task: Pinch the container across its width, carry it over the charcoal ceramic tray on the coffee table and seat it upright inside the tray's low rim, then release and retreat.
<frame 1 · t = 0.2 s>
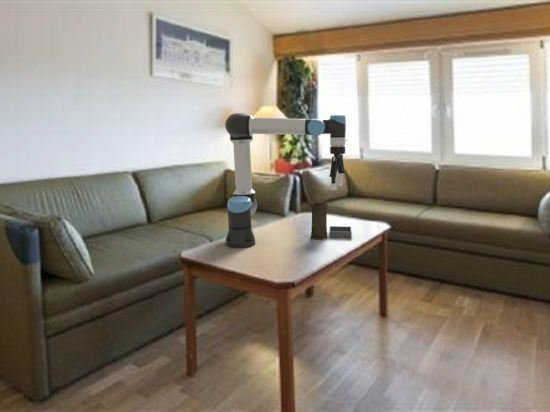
hand: (337, 188, 235), 27 cm above the table, fingers open, 13 cm apart
tray: (340, 235, 247), on the table
container: (319, 238, 243), on the table
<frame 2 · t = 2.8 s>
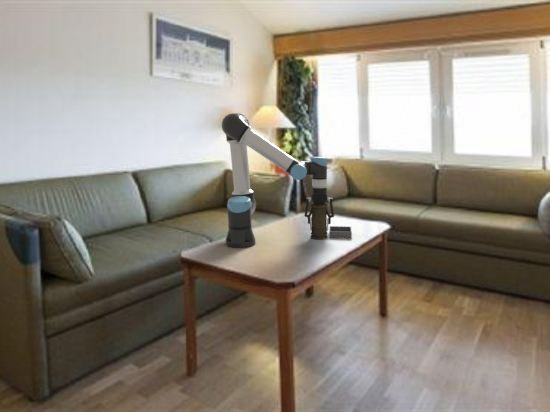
hand: (319, 229, 242), 4 cm above the table, fingers closed on container, 8 cm apart
container: (319, 238, 243), on the table, touching gripper
when the fingers open (6 cm above the table, at t = 6.9 s): container stays where it is, resting on tray.
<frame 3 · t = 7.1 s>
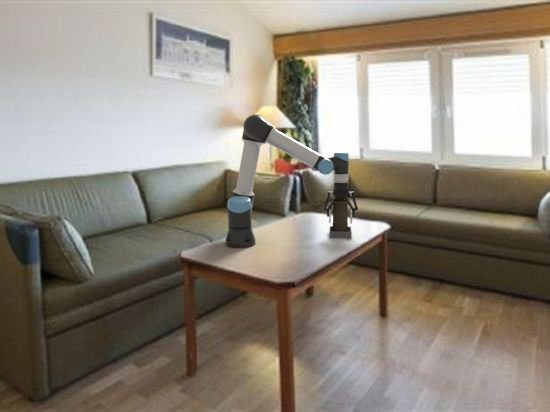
hand: (340, 222, 246), 7 cm above the table, fingers open, 10 cm apart
container: (340, 233, 247), point 1 cm above the table, touching tray
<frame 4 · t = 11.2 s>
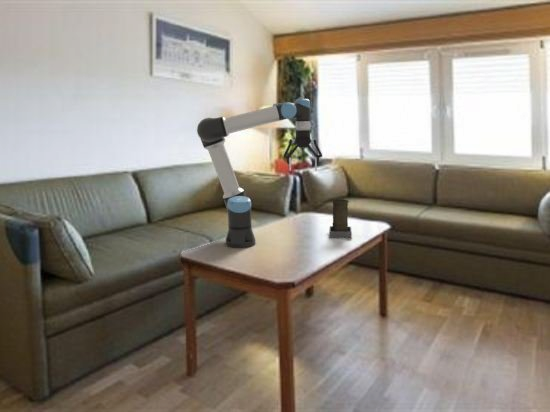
hand: (303, 170, 244), 35 cm above the table, fingers open, 13 cm apart
nothing on the table moved.
at the end: container 0.1 cm off-centre on the tray, point 0.8 cm above the tray's base; container tilted 0°; the gripper is holding nothing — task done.
